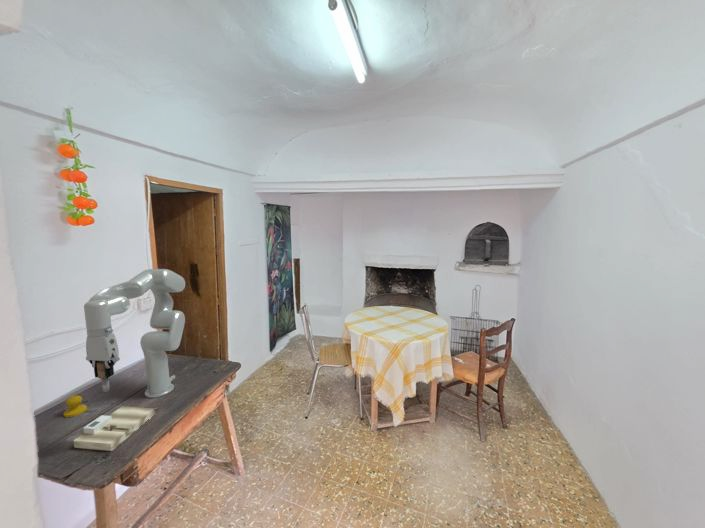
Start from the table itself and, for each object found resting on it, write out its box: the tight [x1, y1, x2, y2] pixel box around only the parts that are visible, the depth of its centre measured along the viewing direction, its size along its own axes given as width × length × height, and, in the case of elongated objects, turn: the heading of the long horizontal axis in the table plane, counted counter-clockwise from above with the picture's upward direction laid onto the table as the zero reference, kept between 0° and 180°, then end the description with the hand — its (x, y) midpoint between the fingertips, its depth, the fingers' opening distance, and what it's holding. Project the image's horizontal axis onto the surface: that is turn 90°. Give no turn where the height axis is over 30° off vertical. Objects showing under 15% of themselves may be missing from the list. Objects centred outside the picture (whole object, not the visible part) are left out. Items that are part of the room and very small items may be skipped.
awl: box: [97, 361, 111, 393], centre depth 122 cm, size 4×4×12 cm
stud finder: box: [82, 414, 112, 434], centre depth 126 cm, size 8×4×2 cm, turn 173°
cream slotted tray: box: [72, 405, 156, 452], centre depth 129 cm, size 22×16×3 cm
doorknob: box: [63, 394, 88, 418], centre depth 140 cm, size 8×8×8 cm
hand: (104, 375), depth 122 cm, fingers closed on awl, 4 cm apart
